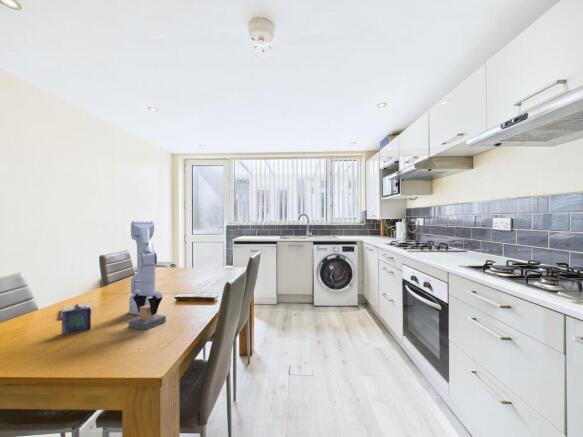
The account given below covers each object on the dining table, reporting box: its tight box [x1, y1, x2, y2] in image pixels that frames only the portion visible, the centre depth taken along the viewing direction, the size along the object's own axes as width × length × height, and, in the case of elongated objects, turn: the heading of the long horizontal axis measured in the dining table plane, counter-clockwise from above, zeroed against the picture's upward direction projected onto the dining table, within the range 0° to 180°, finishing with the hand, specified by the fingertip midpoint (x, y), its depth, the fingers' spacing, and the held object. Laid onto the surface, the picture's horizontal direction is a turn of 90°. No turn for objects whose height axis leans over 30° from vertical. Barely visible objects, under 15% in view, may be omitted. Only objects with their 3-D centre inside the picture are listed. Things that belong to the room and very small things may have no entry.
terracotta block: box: [139, 305, 154, 320], centre depth 118 cm, size 4×4×5 cm
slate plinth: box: [128, 313, 167, 331], centre depth 118 cm, size 10×10×3 cm
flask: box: [61, 303, 92, 335], centre depth 111 cm, size 9×3×11 cm, turn 121°
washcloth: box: [59, 302, 93, 321], centre depth 134 cm, size 12×18×3 cm, turn 39°
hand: (147, 313), depth 118 cm, fingers open, 7 cm apart
